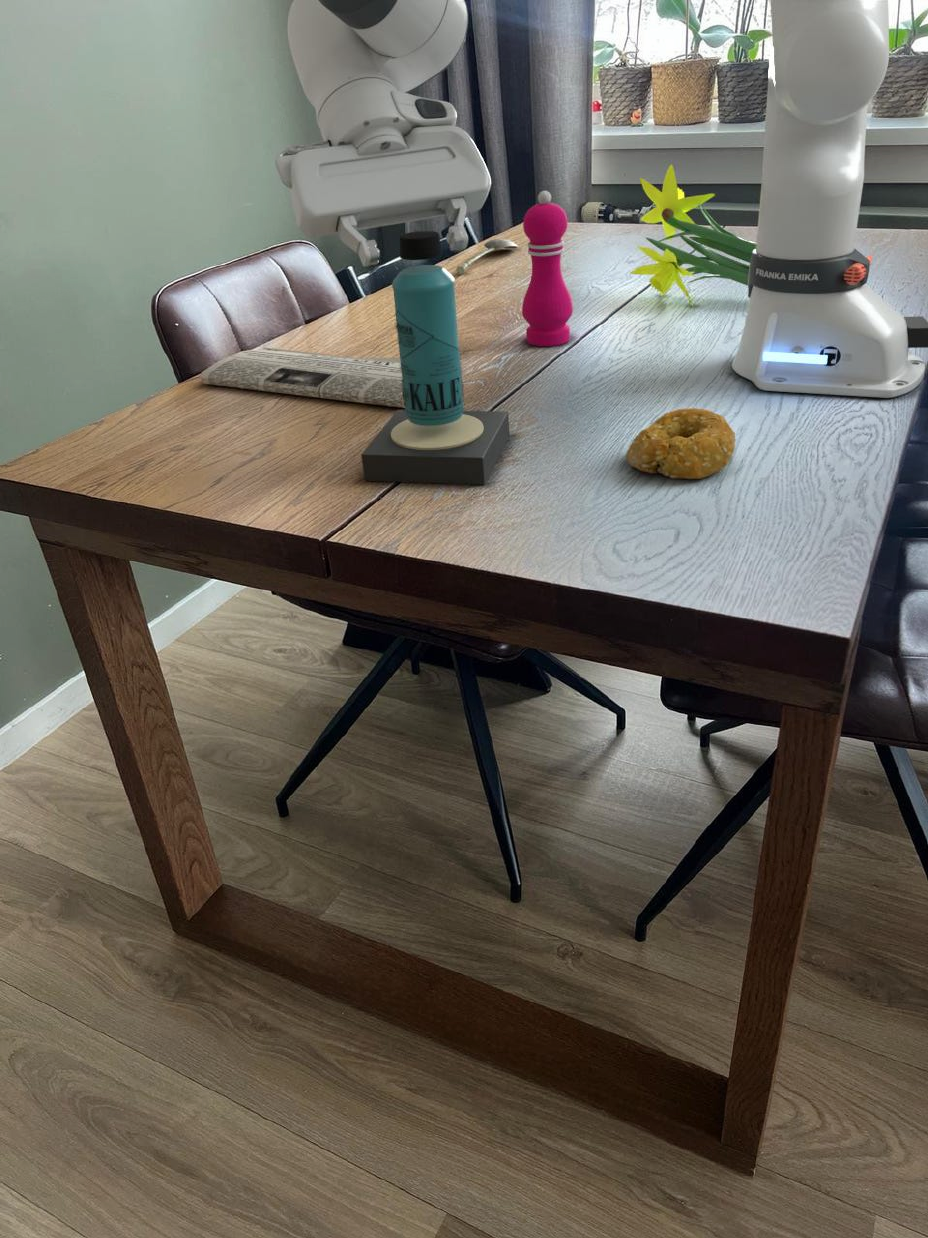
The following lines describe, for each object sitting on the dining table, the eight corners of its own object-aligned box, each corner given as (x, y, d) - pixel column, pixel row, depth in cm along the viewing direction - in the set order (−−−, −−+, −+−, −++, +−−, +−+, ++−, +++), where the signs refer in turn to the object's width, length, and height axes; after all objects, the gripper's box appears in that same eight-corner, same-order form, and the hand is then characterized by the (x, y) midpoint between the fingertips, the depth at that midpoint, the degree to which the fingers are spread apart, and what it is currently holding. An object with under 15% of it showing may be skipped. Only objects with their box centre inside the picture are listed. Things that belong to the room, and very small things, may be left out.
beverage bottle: (433, 413, 106) (415, 223, 95) (479, 424, 102) (466, 227, 91) (393, 433, 102) (370, 236, 91) (440, 445, 98) (421, 241, 87)
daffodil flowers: (810, 335, 133) (588, 255, 143) (809, 359, 147) (607, 285, 157) (866, 218, 130) (637, 145, 141) (860, 254, 144) (652, 186, 155)
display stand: (509, 436, 107) (508, 408, 106) (484, 485, 97) (482, 455, 95) (400, 434, 110) (397, 406, 109) (364, 480, 100) (360, 451, 98)
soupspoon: (523, 252, 190) (494, 253, 193) (522, 234, 189) (493, 235, 192) (475, 274, 174) (444, 275, 177) (473, 255, 172) (442, 255, 175)
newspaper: (202, 386, 131) (196, 361, 129) (258, 358, 140) (254, 334, 138) (421, 413, 116) (418, 385, 114) (469, 380, 125) (467, 354, 123)
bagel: (616, 450, 102) (617, 407, 99) (717, 440, 102) (721, 397, 99) (637, 488, 93) (638, 443, 91) (747, 478, 94) (751, 432, 91)
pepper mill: (570, 347, 133) (568, 194, 123) (519, 348, 135) (513, 196, 124) (575, 332, 139) (574, 184, 129) (527, 333, 141) (521, 187, 130)
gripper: (271, 125, 89) (320, 250, 87) (467, 101, 96) (517, 216, 93) (267, 172, 95) (313, 291, 92) (452, 146, 101) (498, 257, 99)
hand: (417, 253), depth 93 cm, fingers open, 8 cm apart
